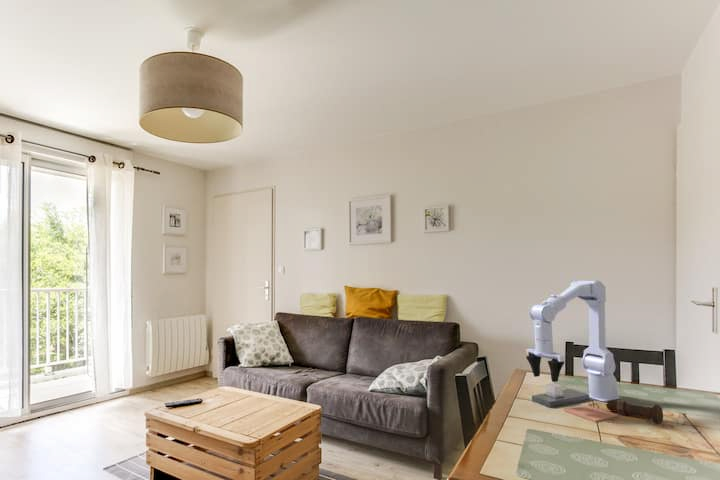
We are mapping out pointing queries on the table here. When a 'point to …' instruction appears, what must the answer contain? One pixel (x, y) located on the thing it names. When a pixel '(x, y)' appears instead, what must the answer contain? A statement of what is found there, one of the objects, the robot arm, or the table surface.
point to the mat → (591, 413)
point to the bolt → (636, 410)
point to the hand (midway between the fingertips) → (545, 378)
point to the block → (568, 398)
